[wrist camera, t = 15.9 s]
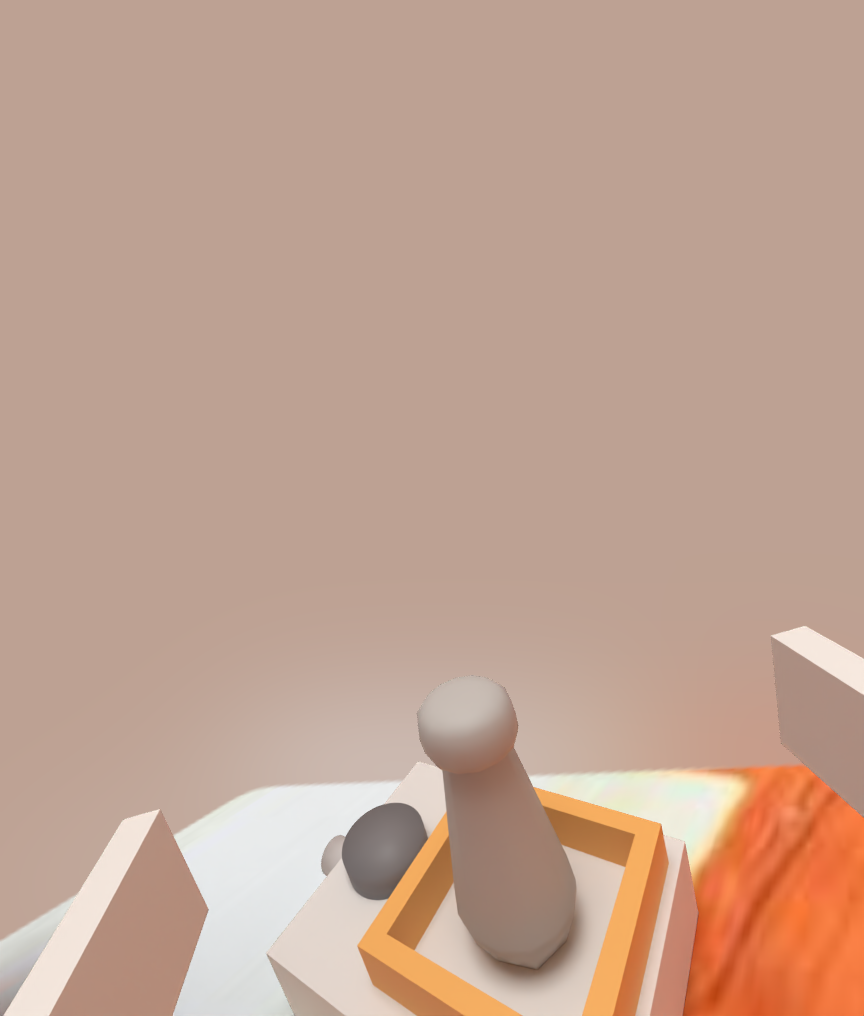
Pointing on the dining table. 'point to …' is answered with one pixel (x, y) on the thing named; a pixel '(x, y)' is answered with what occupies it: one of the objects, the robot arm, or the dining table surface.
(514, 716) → the salt shaker
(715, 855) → the dining table surface
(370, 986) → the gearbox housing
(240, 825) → the dining table surface
